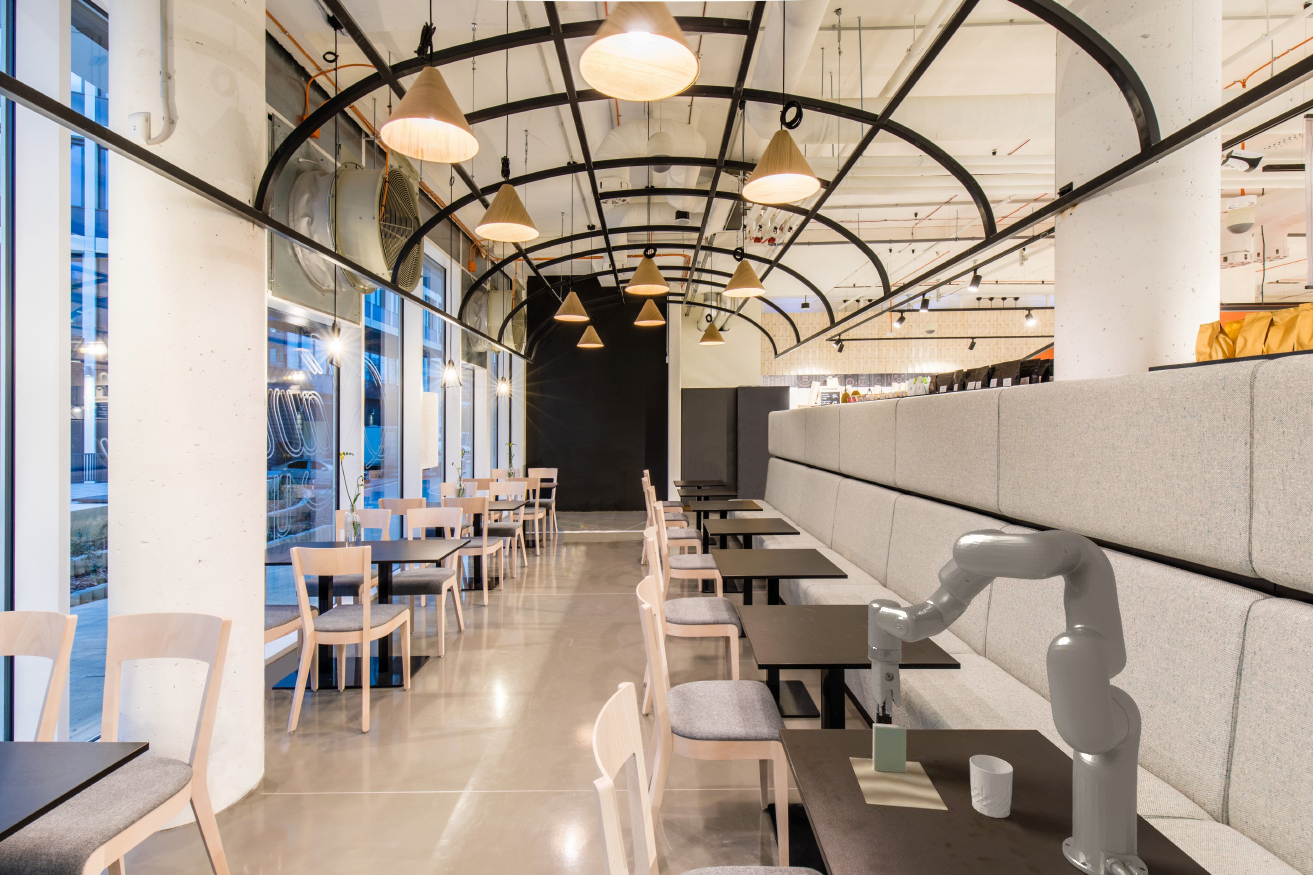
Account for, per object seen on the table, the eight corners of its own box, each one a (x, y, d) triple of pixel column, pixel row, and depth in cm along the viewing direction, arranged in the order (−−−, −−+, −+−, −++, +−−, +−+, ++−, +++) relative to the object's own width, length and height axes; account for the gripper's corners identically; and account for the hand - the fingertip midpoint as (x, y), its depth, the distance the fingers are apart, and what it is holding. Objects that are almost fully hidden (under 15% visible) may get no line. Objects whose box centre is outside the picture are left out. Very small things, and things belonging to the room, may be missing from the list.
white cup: (1018, 826, 126) (1018, 775, 126) (975, 821, 127) (975, 770, 128) (1005, 805, 133) (1005, 756, 134) (964, 800, 135) (965, 752, 135)
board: (947, 814, 129) (948, 809, 129) (866, 808, 131) (866, 803, 131) (919, 766, 149) (919, 762, 149) (849, 761, 151) (849, 757, 151)
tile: (906, 773, 144) (906, 728, 144) (874, 770, 145) (874, 726, 145) (904, 769, 146) (904, 725, 146) (872, 766, 147) (872, 723, 147)
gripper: (909, 664, 143) (908, 746, 143) (893, 644, 158) (892, 719, 158) (875, 662, 144) (874, 744, 144) (862, 642, 159) (861, 717, 159)
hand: (883, 730), depth 151 cm, fingers closed
